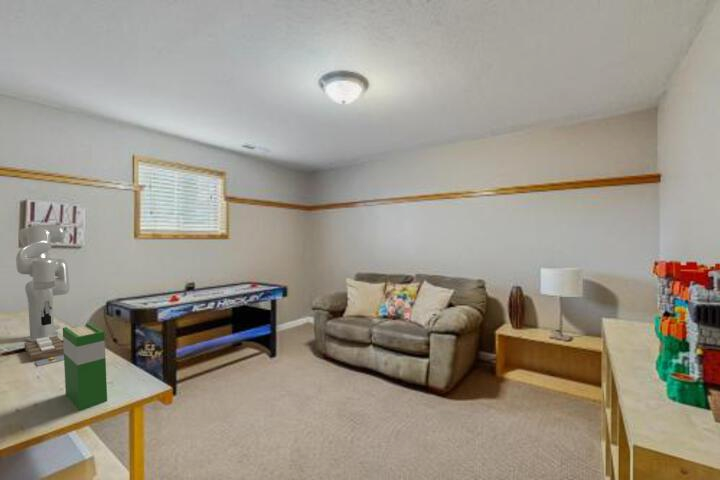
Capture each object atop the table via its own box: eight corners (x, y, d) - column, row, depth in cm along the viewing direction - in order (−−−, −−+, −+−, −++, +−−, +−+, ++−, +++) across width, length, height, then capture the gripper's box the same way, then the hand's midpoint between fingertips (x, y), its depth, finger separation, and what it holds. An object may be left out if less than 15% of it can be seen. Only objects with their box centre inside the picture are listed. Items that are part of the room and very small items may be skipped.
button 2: (40, 352, 155) (40, 347, 155) (53, 349, 158) (53, 345, 158) (42, 354, 152) (41, 350, 152) (54, 351, 155) (54, 347, 155)
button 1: (36, 343, 164) (36, 339, 163) (48, 341, 167) (48, 336, 167) (37, 345, 161) (37, 341, 161) (49, 343, 164) (49, 338, 164)
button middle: (38, 346, 159) (38, 342, 159) (50, 344, 162) (50, 339, 162) (39, 348, 156) (39, 344, 156) (52, 346, 160) (52, 341, 160)
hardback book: (65, 394, 118) (62, 327, 117) (91, 386, 124) (88, 322, 123) (79, 410, 107) (76, 337, 106) (107, 401, 113) (104, 331, 112)
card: (35, 362, 146) (35, 360, 146) (65, 355, 154) (65, 354, 154) (37, 366, 142) (37, 365, 142) (68, 359, 150) (68, 357, 149)
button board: (24, 348, 163) (24, 342, 163) (57, 341, 172) (57, 336, 172) (31, 362, 147) (31, 355, 146) (67, 353, 156) (67, 347, 156)
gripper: (31, 284, 156) (33, 323, 157) (35, 288, 146) (37, 329, 147) (52, 282, 161) (54, 319, 162) (58, 286, 152) (60, 325, 153)
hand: (46, 324), depth 155 cm, fingers closed
